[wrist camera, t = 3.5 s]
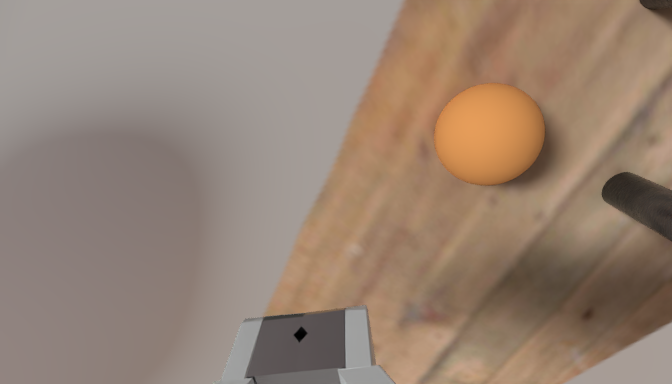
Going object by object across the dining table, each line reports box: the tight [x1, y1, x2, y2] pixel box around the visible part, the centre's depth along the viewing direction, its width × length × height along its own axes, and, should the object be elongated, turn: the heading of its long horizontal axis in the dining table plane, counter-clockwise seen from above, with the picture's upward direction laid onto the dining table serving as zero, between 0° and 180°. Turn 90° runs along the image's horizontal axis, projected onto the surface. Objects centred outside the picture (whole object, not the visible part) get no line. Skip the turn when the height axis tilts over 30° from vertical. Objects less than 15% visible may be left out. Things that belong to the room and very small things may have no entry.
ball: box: [434, 83, 545, 185], centre depth 20 cm, size 6×6×6 cm
